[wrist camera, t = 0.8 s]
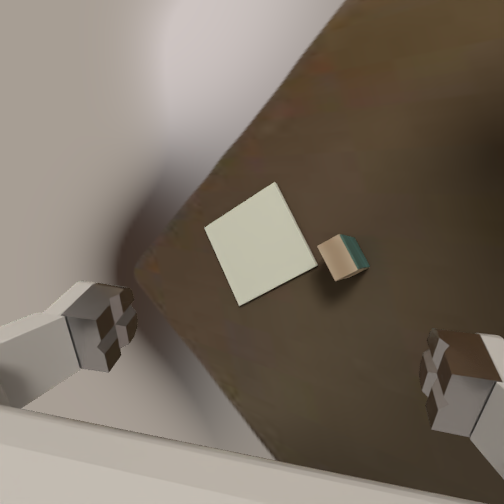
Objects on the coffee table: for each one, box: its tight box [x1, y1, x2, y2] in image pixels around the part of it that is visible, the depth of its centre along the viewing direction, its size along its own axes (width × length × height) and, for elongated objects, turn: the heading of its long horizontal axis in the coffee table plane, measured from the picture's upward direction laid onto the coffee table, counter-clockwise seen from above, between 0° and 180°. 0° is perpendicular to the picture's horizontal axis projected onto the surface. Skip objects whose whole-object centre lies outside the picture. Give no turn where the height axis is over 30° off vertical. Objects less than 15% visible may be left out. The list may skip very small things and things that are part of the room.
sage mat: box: [204, 182, 318, 306], centre depth 49 cm, size 12×12×1 cm
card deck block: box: [317, 234, 370, 281], centre depth 41 cm, size 3×4×8 cm
